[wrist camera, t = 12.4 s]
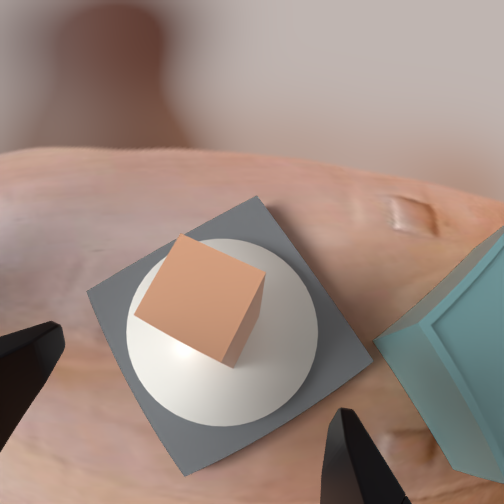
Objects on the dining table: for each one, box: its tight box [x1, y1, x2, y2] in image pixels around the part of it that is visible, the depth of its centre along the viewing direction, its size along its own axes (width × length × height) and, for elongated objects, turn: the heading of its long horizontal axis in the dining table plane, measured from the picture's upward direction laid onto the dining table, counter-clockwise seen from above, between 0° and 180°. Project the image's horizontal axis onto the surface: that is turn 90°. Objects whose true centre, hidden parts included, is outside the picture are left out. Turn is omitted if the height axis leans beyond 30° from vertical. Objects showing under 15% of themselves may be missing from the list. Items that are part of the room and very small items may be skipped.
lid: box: [126, 234, 318, 426], centre depth 13 cm, size 10×10×8 cm
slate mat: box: [86, 196, 373, 477], centre depth 17 cm, size 12×12×2 cm
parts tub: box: [373, 226, 504, 484], centre depth 15 cm, size 12×12×6 cm
